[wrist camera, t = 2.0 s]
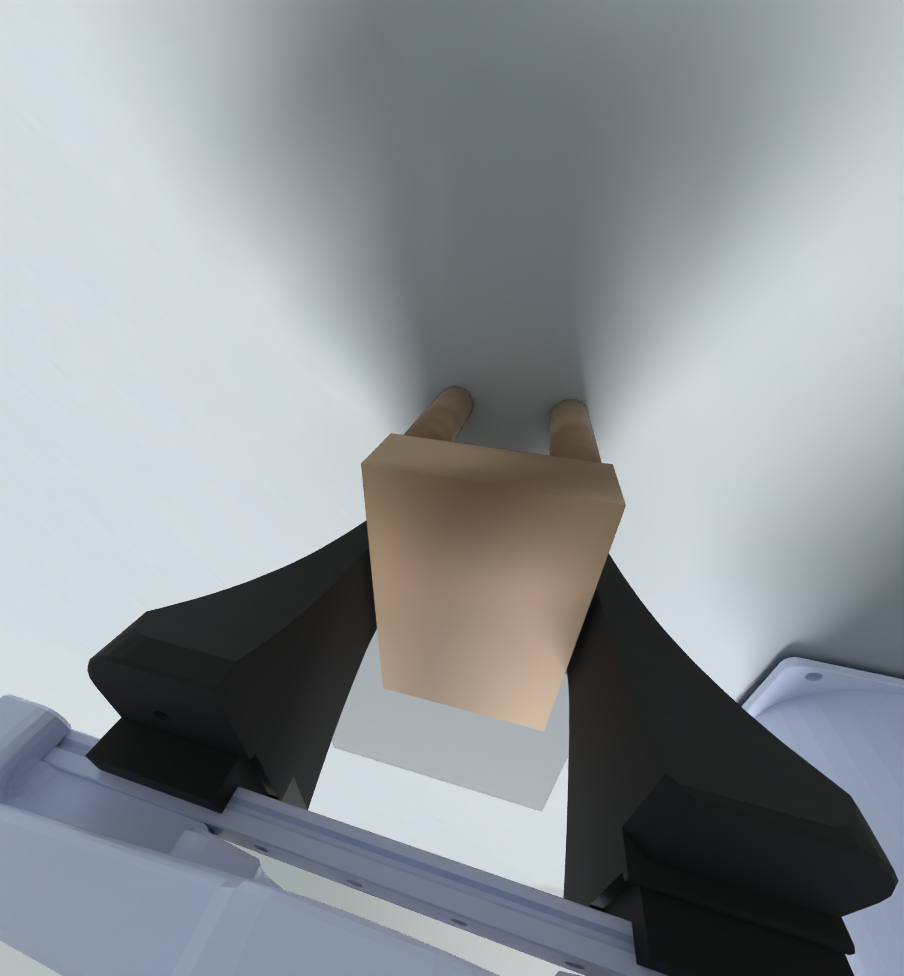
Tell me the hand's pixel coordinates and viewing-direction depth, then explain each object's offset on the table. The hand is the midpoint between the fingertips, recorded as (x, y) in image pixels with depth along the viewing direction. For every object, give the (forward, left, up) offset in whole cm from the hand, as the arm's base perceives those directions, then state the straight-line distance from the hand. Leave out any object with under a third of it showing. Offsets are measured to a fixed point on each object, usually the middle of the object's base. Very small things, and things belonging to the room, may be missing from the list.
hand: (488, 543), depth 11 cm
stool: (0, 0, -3) cm, 3 cm away
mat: (+2, +17, -3) cm, 17 cm away
